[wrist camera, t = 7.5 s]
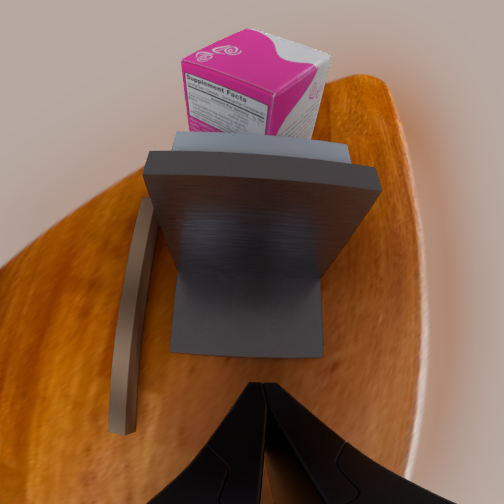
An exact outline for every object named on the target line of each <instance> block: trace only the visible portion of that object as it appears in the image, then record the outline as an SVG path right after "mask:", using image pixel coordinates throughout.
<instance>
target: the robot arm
mask: <svg viewBox="0 0 504 504" xmlns="http://www.w3.org/2000/svg"><path fill="white" fill-rule="evenodd" d="M264 459H265V463H266V468H267V473H268V477H269V482H270V487H271V491H272V496H273V500H274V504H456V503H454V502H452V501H449V500H447V499H445V498H443V497H441V496H438V495H437V494H434V493H432V492H430V491H428V490H426V489H424V488H422V487H420V486H418V485H416V484H414V483H412V482H410V481H409V480H407V479H405V478H403V477H401V476H399V475H397V474H395V473H394V472H392V471H390V470H388V469H386V468H385V467H383V466H381V465H380V464H378V463H377V462H375V461H373V460H372V459H370V458H369V457H367V456H366V455H364V454H363V453H362V452H360V451H359V450H357V449H356V448H355V447H354V446H352V445H351V444H350V443H348V442H346V441H345V440H344V439H343V438H341V437H340V436H339V435H338V434H336V433H335V432H334V431H333V430H331V429H330V428H329V427H328V426H326V425H325V424H324V423H323V422H322V421H320V420H319V419H318V418H317V417H316V416H314V415H313V414H312V413H311V412H310V411H309V410H307V409H306V408H305V407H304V406H303V405H301V404H300V403H299V402H298V401H297V400H296V399H295V398H293V397H292V396H291V395H290V394H289V393H288V392H287V391H285V390H284V389H283V388H282V387H281V386H280V385H279V384H277V383H263V384H262V383H260V382H249V383H248V384H247V386H246V387H245V389H244V390H243V392H242V393H241V395H240V396H239V398H238V399H237V400H236V402H235V403H234V405H233V406H232V408H231V409H230V411H229V412H228V413H227V415H226V416H225V418H224V419H223V421H222V422H221V423H220V425H219V426H218V428H217V429H216V430H215V432H214V433H213V435H212V436H211V437H210V439H209V440H208V441H207V443H206V444H205V446H203V448H202V449H201V450H200V452H199V453H198V454H197V456H196V457H195V458H194V459H193V460H192V462H191V463H190V464H189V465H188V466H187V467H186V468H185V469H184V470H183V471H182V472H181V473H180V474H179V475H178V476H177V477H176V478H175V479H174V480H173V481H172V482H171V483H170V484H168V485H167V486H166V487H165V488H164V489H163V490H162V491H161V492H159V493H158V494H157V495H156V496H155V497H154V498H152V499H151V500H150V501H149V502H148V503H146V504H260V499H261V488H262V476H263V464H264Z"/></svg>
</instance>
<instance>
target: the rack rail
mask: <svg viewBox="0 0 504 504" xmlns="http://www.w3.org/2000/svg"><path fill="white" fill-rule="evenodd" d="M158 228H159V221H158V218H157V216H156V213H155V210H154V207H153V204H152V201H151V198H150V197H142V200H141V204H140V208H139V212H138V216H137V220H136V225H135V229H134V233H133V238H132V242H131V247H130V252H129V257H128V262H127V267H126V272H125V277H124V283H123V289H122V295H121V301H120V307H119V314H118V321H117V328H116V336H115V344H114V353H113V363H112V374H111V387H110V403H109V427H108V432H111V433H116V434H120V435H128V434H130V433H133V432H135V431H136V405H137V388H138V374H139V362H140V351H141V341H142V332H143V323H144V315H145V308H146V300H147V293H148V286H149V280H150V273H151V267H152V261H153V255H154V249H155V244H156V238H157V233H158Z"/></svg>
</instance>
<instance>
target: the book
mask: <svg viewBox="0 0 504 504" xmlns="http://www.w3.org/2000/svg"><path fill="white" fill-rule="evenodd" d="M171 151H208V152H233V153H250V154H265V155H277V156H289V157H299V158H308V159H317V160H326V161H334V162H341V163H349V164H352V163H351V159H350V155H349V151H348V147H347V144H340V143H333V142H326V141H319V140H311V139H302V138H293V137H283V136H272V135H259V134H244V133H224V132H176V136H175V139H174V143H173V147H172V150H171Z"/></svg>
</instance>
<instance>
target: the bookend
mask: <svg viewBox="0 0 504 504" xmlns="http://www.w3.org/2000/svg"><path fill="white" fill-rule="evenodd" d="M142 175H143V178H144V181H145V184H146V187H147V190H148V193H149V196H150V198H151V201H152V204H153V207H154V210H155V213H156V216H157V218H158V221H159V224H160V227H161V229H162V232H163V235H164V237H165V240H166V243H167V245H168V248H169V250H170V253H171V256H172V258H173V261H174V263H175V266H176V268H177V271H178V276H177V284H176V293H175V302H174V311H173V321H172V331H171V342H170V352H171V353H180V354H191V355H204V356H219V357H239V358H273V359H311V358H322V357H323V332H322V306H321V287H320V279H321V277H322V276H323V275H324V273H325V272H326V271H327V269H328V268H329V267H330V265H331V264H332V262H333V261H334V260H335V258H336V257H337V256H338V254H339V253H340V251H341V250H342V249H343V247H344V246H345V244H346V243H347V242H348V240H349V239H350V237H351V236H352V235H353V233H354V232H355V230H356V229H357V227H358V226H359V224H360V223H361V222H362V220H363V219H364V217H365V216H366V214H367V213H368V211H369V210H370V208H371V207H372V205H373V204H374V202H375V201H376V199H377V198H378V196H379V195H380V193H381V192H382V189H381V185H380V181H379V177H378V174H377V170H376V168H375V167H369V166H362V165H356V164H349V163H341V162H334V161H326V160H317V159H308V158H299V157H289V156H277V155H265V154H250V153H233V152H208V151H149V155H148V158H147V161H146V164H145V167H144V171H143V174H142Z"/></svg>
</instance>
